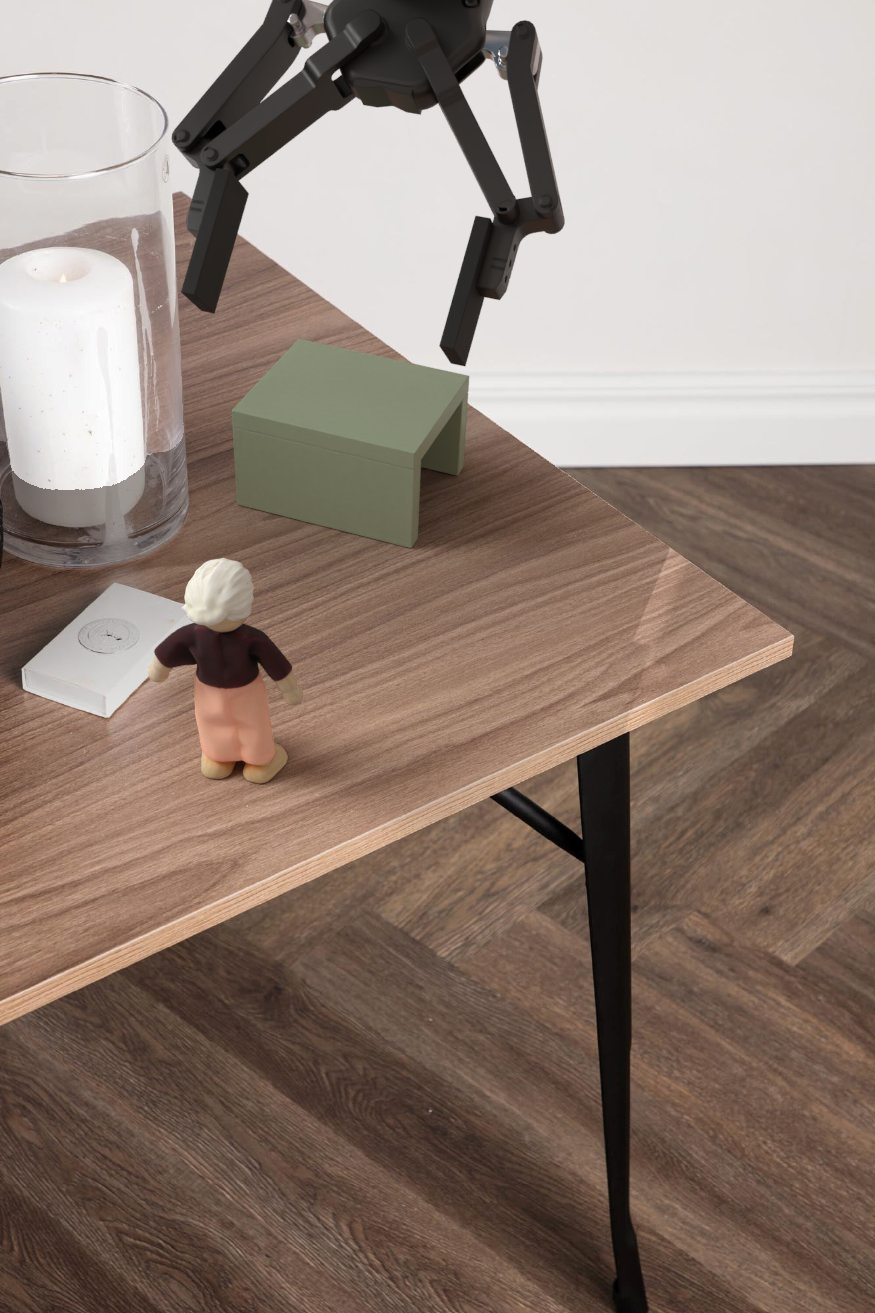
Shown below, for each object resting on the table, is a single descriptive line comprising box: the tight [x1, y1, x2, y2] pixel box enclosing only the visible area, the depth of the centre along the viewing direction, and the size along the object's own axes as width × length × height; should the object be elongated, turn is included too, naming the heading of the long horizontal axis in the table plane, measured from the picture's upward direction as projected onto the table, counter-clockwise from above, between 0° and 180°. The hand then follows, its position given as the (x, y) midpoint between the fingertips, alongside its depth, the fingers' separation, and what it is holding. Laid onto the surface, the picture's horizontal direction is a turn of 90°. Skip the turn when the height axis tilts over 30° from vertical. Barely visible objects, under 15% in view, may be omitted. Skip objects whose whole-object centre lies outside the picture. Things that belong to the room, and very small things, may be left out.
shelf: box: [231, 338, 470, 549], centre depth 91 cm, size 12×10×7 cm
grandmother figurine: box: [147, 557, 305, 784], centre depth 69 cm, size 8×4×13 cm, turn 92°
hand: (322, 330), depth 70 cm, fingers open, 13 cm apart
